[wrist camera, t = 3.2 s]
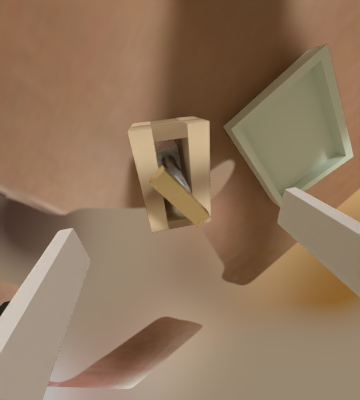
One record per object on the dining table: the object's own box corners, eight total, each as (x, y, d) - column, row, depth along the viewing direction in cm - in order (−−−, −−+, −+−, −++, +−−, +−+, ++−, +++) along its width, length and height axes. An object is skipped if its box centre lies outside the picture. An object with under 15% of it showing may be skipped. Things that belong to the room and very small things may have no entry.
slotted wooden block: (132, 123, 18) (127, 131, 13) (192, 116, 19) (209, 121, 14) (152, 213, 24) (154, 243, 19) (197, 205, 25) (210, 232, 19)
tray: (223, 126, 24) (230, 129, 21) (308, 49, 21) (327, 43, 19) (271, 200, 32) (280, 208, 29) (337, 152, 29) (353, 156, 27)
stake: (139, 152, 23) (134, 198, 12) (164, 128, 23) (181, 154, 11) (167, 179, 26) (183, 237, 15) (190, 158, 25) (226, 205, 14)
